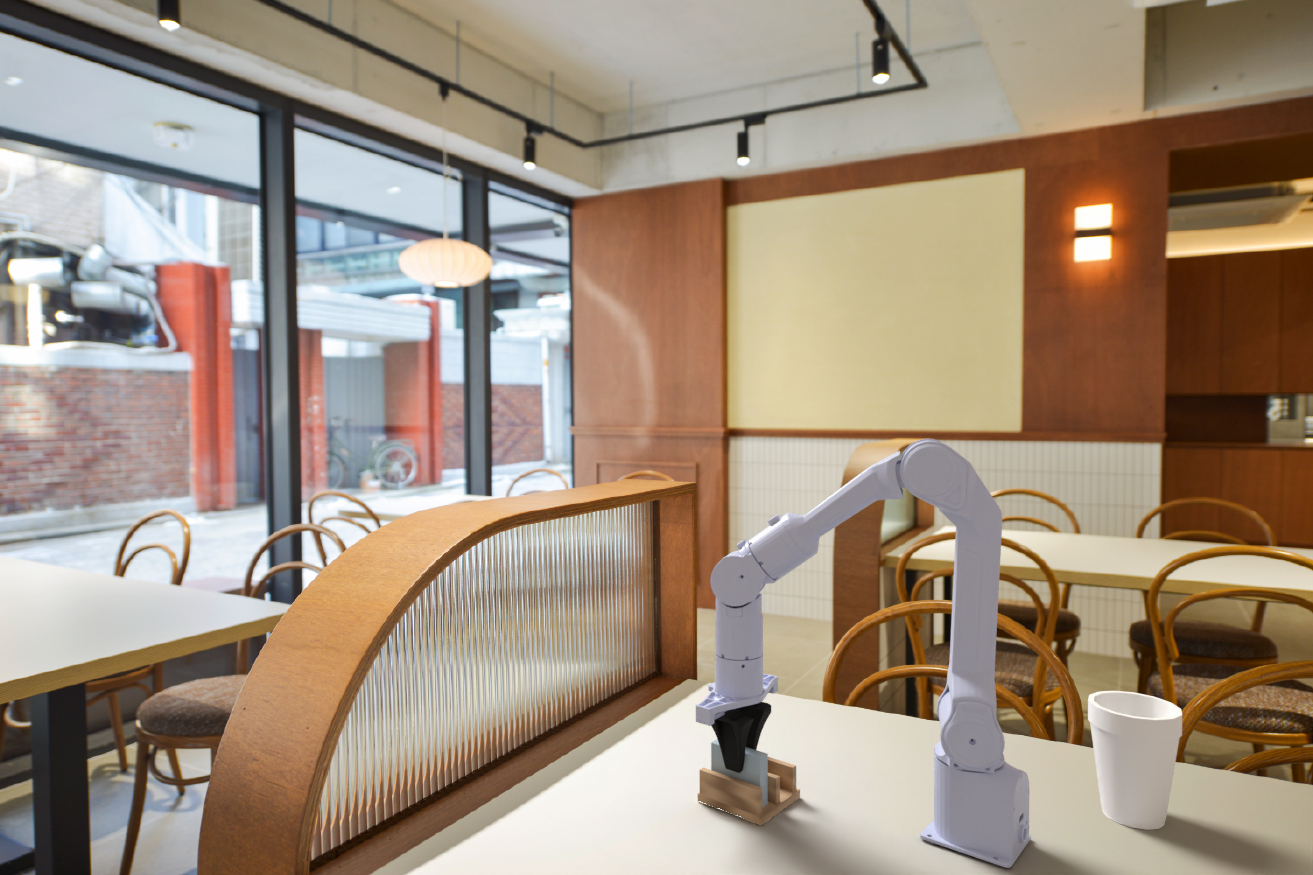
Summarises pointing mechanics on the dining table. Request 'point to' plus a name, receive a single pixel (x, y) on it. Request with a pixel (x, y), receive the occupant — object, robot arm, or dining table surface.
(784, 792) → the rack
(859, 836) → the dining table surface
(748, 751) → the pale blue upright slab
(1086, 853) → the dining table surface
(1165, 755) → the foam cup
